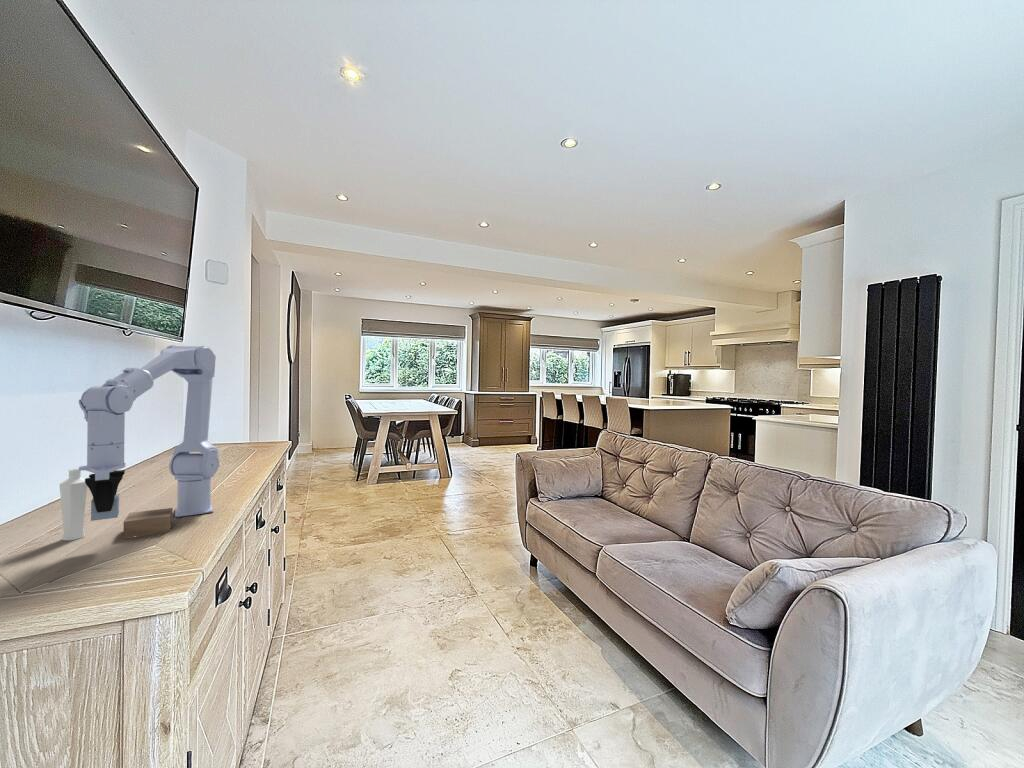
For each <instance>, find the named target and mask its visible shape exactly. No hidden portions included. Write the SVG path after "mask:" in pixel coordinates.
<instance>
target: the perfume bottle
mask: <svg viewBox="0 0 1024 768" xmlns="http://www.w3.org/2000/svg"><path fill="white" fill-rule="evenodd" d="M67 471H68V479H66V480H64V481H62V482H60V483H59V493H60V505H61V516H62V526H63V533H62V536H61V539H60V541H74V540H79V539H83V538H85V537H86V535H85V531H84V526H85V525H84V524H85V515H86V514H85V513H86V506H87V505H86V504H87V493H88V486H87V485H86V483H85V479H86V478H83V477H81V474H82V473H81V472H82V471H79V468H72V469H68V470H67Z"/></svg>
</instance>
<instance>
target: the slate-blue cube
mask: <svg viewBox="0 0 1024 768" xmlns="http://www.w3.org/2000/svg"><path fill="white" fill-rule="evenodd" d="M90 503H91V504H90V522H92V521H101V520H102V521H103V520H107V519H108V520H109V519H115V518H119V515H120V493H119V494H118V493H117V494H116V495H115V497H114V502H113V506H112V509H111V511H107V512H99V513H97V510H96V507H95V503H94V499H93V498H92V499H91V501H90Z"/></svg>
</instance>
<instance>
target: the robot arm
mask: <svg viewBox="0 0 1024 768" xmlns="http://www.w3.org/2000/svg"><path fill="white" fill-rule="evenodd" d="M215 369H216V355H215V353H214V351H213V350H212V349H211V348H210V346H208V345H174V344H173V345H172V344H171V345H167V346H166V347H165V348H163V349H161V350H160V354H159V355H157V356H156V357H154V358H153V359H152V360H150V361H149V362H147V363H146V364H145V365H144V366H142V367H141V368H139V367H125V368H124V369H122V372H121V374H118V375H117V376H115V377H113V378H110V379H108V380H105V383H103V384H102V385H96V386H95V385H94V386H93V385H92V386H90V387H89V388H87V389H86V390H85V391H83V393H82V395H81V398H80V399H78V404H79V408H80V409H81V410H82V411H83V413H84V420H85V422H87V432H86V433H87V436H86V437H87V439H86V440H87V442H86V443H87V444H86V445H87V446H86V447H87V448H86V450H87V451H86V465H80V466H78V469H79V471H81V472H82V471H85V472H86V471H87V472H89V473H90V474H89V475H88V477H86V478H84V479H85V483H86V485H87V488H88V489H89V491H90V492H91V495H92V499H94V503H95V507H96V510H97V513H99V512H107V511H111V509H112V506H113V502H114V497H115V495H117V494H118V493H117V492H118V489H119V485H120V483H121V481H122V479H124V475H125V473H126V470H124V468H125V467H126V462H125V427H126V425H125V419H126V416H125V415H126V414H125V413H126V412H129V411H130V410H131V408H133V407H132V406H133V404H134V402H135V401H136V399H138V397H140V396H142V395H143V394H144V393H146V392H147V391H149V390H150V389H152V388H153V386H154V381H155V380H156V379H158V378H160V377H162V376H163V375H165V374H168V373H169V372H172V373H175V374H176V375H177V376H179V377H180V378H182V379H184V380H185V381H186V382H187V394H186V406H185V415H184V416H185V419H184V430H183V440H182V442H181V443H180V444H178V445H177V446H176V447H174V448H173V450H172V452H173V453H172V456H171V458H170V460H169V464H168V468H169V473H170V474H171V476H173V477H174V480H177V491H176V492H177V493H176V494H177V496H176V497H177V500H176V502H177V503H176V504H177V505H176V507H174V515H175V518H181V517H189V516H194V515H202V514H208V513H209V514H211V513H214V508H213V505H212V503H211V500H212V497H211V496H212V494H211V492H212V489H211V488H212V487H211V486H212V485H211V484H212V478H214V477H215V474H216V473H217V472H218V471H219V467H220V458H219V456H218V455H219V454H218V451H219V450H218V447H216V446H214V445H213V444H212V443H210V442H209V429H210V417H211V416H210V415H211V404H212V402H211V401H212V390H213V378H214V377H215V371H216V370H215Z"/></svg>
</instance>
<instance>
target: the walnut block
mask: <svg viewBox="0 0 1024 768" xmlns="http://www.w3.org/2000/svg"><path fill="white" fill-rule="evenodd" d="M171 525H173V507H170V508H167V507H166V508H160V509H150V510H143V511H133V512H129V513H128V515H127V516H126V518H125V519H124V521H123V533H122V535H123V538H125V539H129V538H128V537H132V538H135V537H134V536H139V537H144V536H143V535H147V536H151V535H152V534H154V535H158V533H161V534H166V533H165V532H168V533H170V532H171V529H170V528H172V526H171ZM169 531H170V532H169Z"/></svg>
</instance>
